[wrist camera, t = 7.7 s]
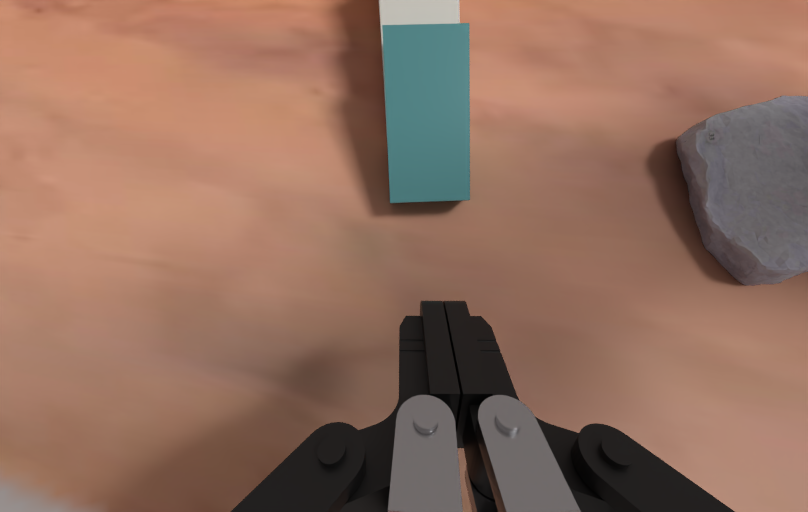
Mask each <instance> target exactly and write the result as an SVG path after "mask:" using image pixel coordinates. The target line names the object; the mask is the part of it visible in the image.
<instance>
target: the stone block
mask: <svg viewBox="0 0 808 512" xmlns="http://www.w3.org/2000/svg"><path fill="white" fill-rule="evenodd" d="M676 146H677V154H678V157H679V159H680V161H681V166H682V172H683V175H684V179H685V181H686V182H687V184H688V192H689V196H690V198H689V202H690V205H691V207H692V210H693V212H694V216H695V221H696V223H697V226H698V228H699V231H700V234H701V238H702V243H703V245H704V247H705V249H706V250H708V251H709V252H710V253H711V254H712V255H713V256H714V257H715V258H716V259H717V261H718V262H719V263H720V264H721V265H722V266H723V267H724V268H725V269H726V270H727V271H728V272H729V273H730V274H731V275H732V276H733V277H734V278H735V279H736V280H738V281H739V282H740V283H742V284H744V285H752V286H753V285H760V284H776V283H781V282H782V281H783V280H786V279H789V278H791V277H793V276H795V275H799V274H801V273H804V272H808V97H807V96H781V97H779V98H775V99H774V100H770V101H767V102H762V103H758V104H754V105H749V106H744V107H741V108H738V109H734V110H731V111H727V112H724V113H720V114H716V115H714V116H712V117H710V118H708V119H706V120H704V121H702V122H700V123H698V124H696V125H694V126H693V127H691V128H689V129H688V130H687V131H686V132H684V133H683V134H682V135H681V136H679V137H678V139H677V140H676Z"/></svg>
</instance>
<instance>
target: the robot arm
mask: <svg viewBox="0 0 808 512" xmlns="http://www.w3.org/2000/svg"><path fill="white" fill-rule="evenodd" d="M457 448H464V451H465V457H466V463H467V465H466V470H465V482H466V486H467V491H468V495H469V499H470V504H471V508H472V512H734V511H733V510H732V509H730V508H729V507H727V506H726V505H725V504H723V503H722V502H720V501H719V500H717V499H716V498H715V497H713V496H712V495H710V494H709V493H708V492H706V491H705V490H703V489H702V488H701V487H699V486H698V485H696V484H695V483H693V482H692V481H691V480H689V479H688V478H686V477H685V476H684V475H682V474H681V473H679V472H678V471H677V470H675V469H674V468H672V467H671V466H669V465H668V464H667V463H665V462H664V461H662V460H661V459H660V458H658V457H657V456H655V455H654V454H652V453H651V452H650V451H648V450H647V449H645V448H644V447H643V446H641V445H640V444H638V443H637V442H636V441H634V440H633V439H631V438H630V437H628V436H627V435H626V434H624V433H622V432H621V431H619V430H617V429H615V428H613V427H610V426H608V425H604V424H590V425H587V426H585V427H584V428H583V429H582V430H581V431H580V433H577V432H573V431H570V430H567V429H564V428H561V427H557V426H554V425H551V424H548V423H546V422H544V421H542V420H540V419H538V418H536V417H535V416H534V414H533V413H532V412H531V410H530V409H529V408H528V407H527V406H526V405H524V404H523V403H522V402H520V400H519V399H518V397H517V395H516V392H515V389H514V387H513V384H512V381H511V379H510V376H509V373H508V371H507V368H506V365H505V362H504V360H503V357H502V354H501V353H500V349H499V346H498V344H497V342H496V338H495V336H494V333H493V330H492V328H491V326H490V325H489V324H488V323H487V322H486V321H485V320H484V319H483V318H482V317H481V316H470V314H469V311H468V308H467V304H466V302H465V301H443V302H442V301H421V304H420V316H406V317H405V318H404V320H403V322H402V324H401V325H400V340H399V400H398V404H397V406H396V408H395V409H394V411H393V412H392V414H391V415H390V416H389V417H388V418H386V419H385V420H384V421H382V422H380V423H378V424H376V425H373V426H370V427H367V428H364V429H361V430H359V431H358V430H357V429H356V428H354V427H353V426H352V425H349V424H347V423H343V422H335V423H330V424H326V425H324V426H322V427H320V428H318V429H317V430H316V431H314V432H313V433H312V434H311V435H310V436H309V437H308V438H307V439H306V440H305V441H304V442H303V443H302V444H301V445H300V446H299V447H297V448H296V449H295V450H294V451H293V452H292V453H291V454H290V455H289V456H288V457H287V458H286V459H285V460H284V461H283V462H282V463H281V464H280V465H279V466H278V467H277V468H276V469H275V470H274V471H273V472H272V473H270V474H269V475H268V476H267V477H266V478H265V479H264V480H263V481H262V482H261V483H260V484H259V485H258V486H257V487H256V488H255V489H254V490H253V491H252V492H251V493H250V494H249V495H248V496H247V497H246V498H245V499H243V500H242V501H241V502H240V503H239V504H238V505H237V506H236V507H235V508H234V509H233V510H232V511H231V512H463V510H462V498H461V486H460V474H459V462H458V450H457Z"/></svg>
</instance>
